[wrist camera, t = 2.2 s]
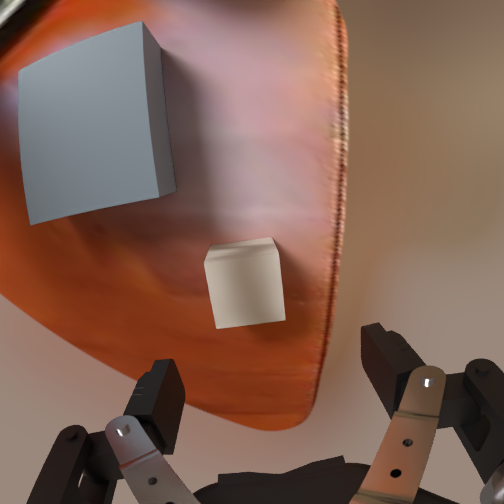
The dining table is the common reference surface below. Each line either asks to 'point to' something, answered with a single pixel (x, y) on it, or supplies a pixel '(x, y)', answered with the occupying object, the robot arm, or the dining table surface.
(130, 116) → the slate stand
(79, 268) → the dining table surface
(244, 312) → the cream cube
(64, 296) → the dining table surface
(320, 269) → the dining table surface
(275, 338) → the dining table surface
